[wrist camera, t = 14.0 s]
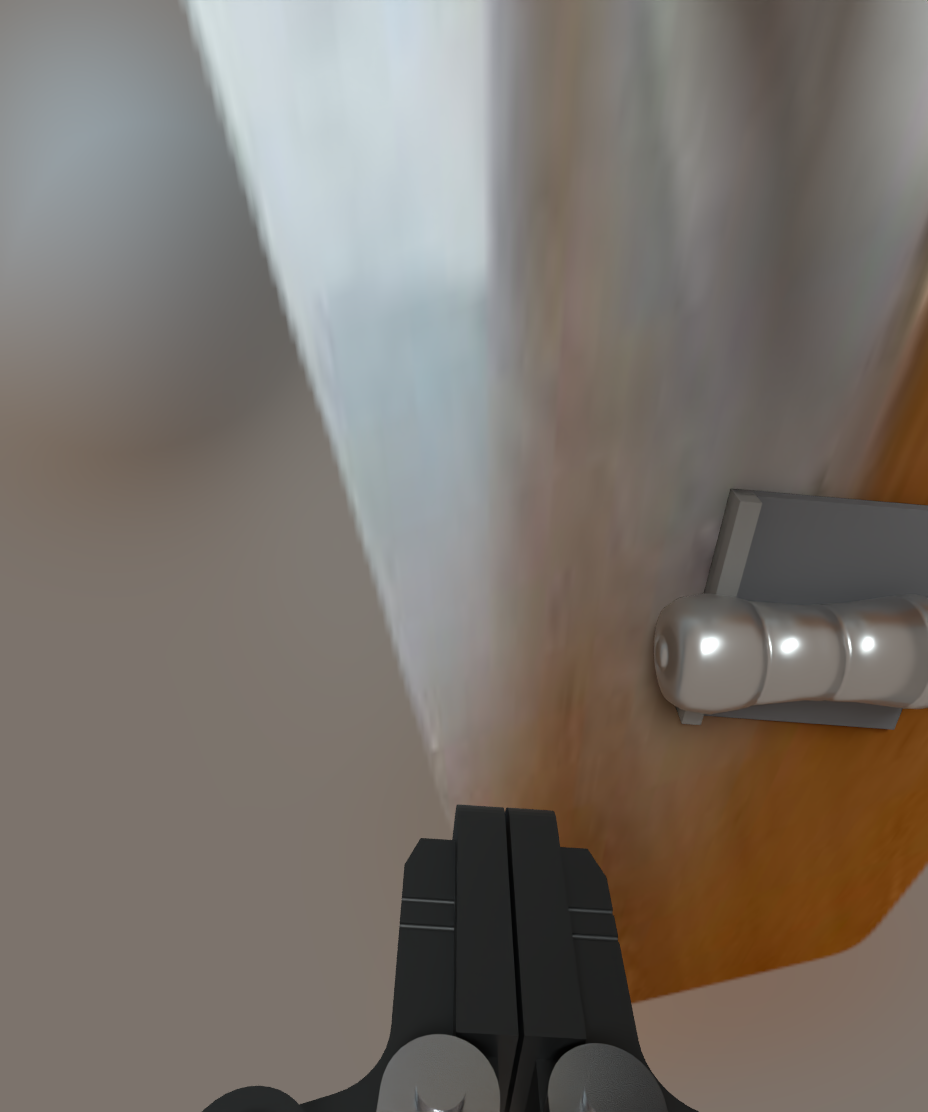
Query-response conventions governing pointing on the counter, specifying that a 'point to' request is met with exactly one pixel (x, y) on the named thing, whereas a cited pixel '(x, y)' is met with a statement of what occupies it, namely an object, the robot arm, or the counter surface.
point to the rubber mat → (817, 573)
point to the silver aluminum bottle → (792, 652)
